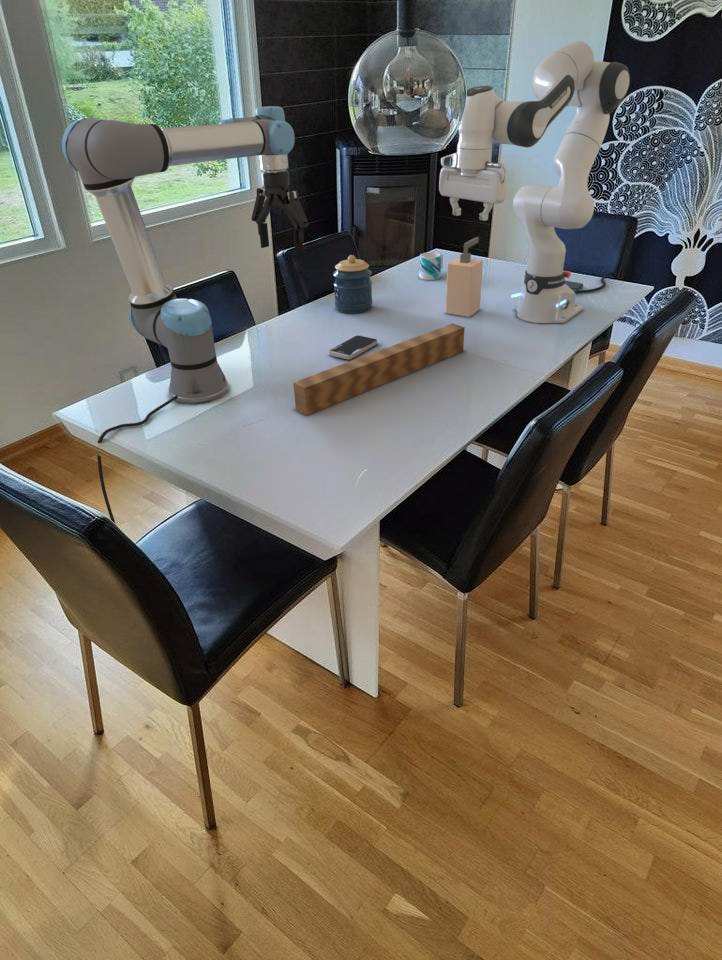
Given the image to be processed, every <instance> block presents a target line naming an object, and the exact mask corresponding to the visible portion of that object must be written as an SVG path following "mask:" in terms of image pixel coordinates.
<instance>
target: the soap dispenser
mask: <svg viewBox="0 0 722 960" xmlns="http://www.w3.org/2000/svg"><path fill="white" fill-rule="evenodd" d="M478 243H480V237H478V236H476V237H474V238H472V239H470V240H468V241H466V242H464V243H463V252H462V253H460V257H457V258H455V259H453V260H452V261H450V262H448V263H446V264H447V267H446V294H445V297H446V298H445V314H449V315H453V316H460V317H466V318H469V317H471V316H472V315H474V314H476V313H477V312H478V311H480V309H481V298H482V296H481V294H482V282H483V264H484V261H483V259H476V258H472V253H471V252H469V249H470V248H471V247H473V246H475V245H476V244H478Z"/></svg>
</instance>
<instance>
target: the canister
mask: <svg viewBox="0 0 722 960" xmlns="http://www.w3.org/2000/svg"><path fill="white" fill-rule="evenodd" d="M369 267H370V264H369V263H368V262H366V261H365V260H363V259H359V258H357V257H356V256H355V255H354V254H350V255H349V256H348V257H347V259H343V260H341V261H339V263H337V264H336V265H335V266H334V268H335V269H336V270H334V271H333V273H332V275H333V277H334V281H333V287H334V289H333V290H334V306H335V310H337V312H340V313H345V314H359V313H364V312H367V311H369V310H371V309H372V308H373V291H372V290H373V288H372V286H373V282H372V280H371V276H372V274H373V272H372V270H371V269H369Z"/></svg>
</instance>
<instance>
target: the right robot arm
mask: <svg viewBox="0 0 722 960" xmlns="http://www.w3.org/2000/svg"><path fill="white" fill-rule="evenodd" d="M531 82H532V84H531V85H532V91H533V94H534V95H535V97H536V98H537V100H527V101H513V100H504V99H502V98H500V97H499V96H498V95H497V94H496V93H495V88H494V87H493V86H491V85H479V86H473V87H470V88H468V89H467V98H466V106H465V110H464V114H463V117H462V121H461V124H460V126H459V128H458V127H457V129H458V135H459V136H458V142H457V146H456V152H454V153H451V154H449V155H448V154H447V155H445V156H443V157H441V158H440V165H441V166H442V167H441V169H440V172H439V178H438V179H439V181H438V191H439V193H440V195H441V196H443V197H448V198H449V203H450V205H451V208H452V216H456V217H458V216H461V215H462V208H461V207H460V206H459V201H460V199H462V200H468V201H473V202H480V203H483V207H484V208H483V211H482V212H479V217H478V220H479V221H483V222H485V221H488V220H489V213H490V212H491V210H492V209H493V207H494V205H498V204H503V203H504V201H505V200H506V198H507V178H506V177H507V169H506V168H505V166H504V165H503V164H502V163H501V162H493V161H492V157H493V144H500V145H511V146H517V147H521V148H526V149H527V148H528V149H529V148H532V147H534V146H535V145H536V144H537V143H538V142H539V141H540V140H541V139H542V137H543V136H544V134H545V133H546V131H547V130H548V128H549V126H550V125H551V124H552V123H553V121H554V120H556V118H557V117H558V116H559V115H560V114H561V113H562V112H563V111H564V109H565V108H566V107H568V106H570V107H576V114H575V115H574V117H573V119H572V120H571V122H570V124H569V125H568V127H567V129H566V131H565V133H564V135H563V137H562V140H561V142H560V144H559V146H558V148H557V151H556V152H555V155H554V157H553V161H552V162H553V163H552V164H553V169H554V171H555V172H556V174H557V175H558V176H559V177H560V178H559V182H558V183H557V185H555V186H554V185H553V186H552V185H545V184H537V183H536V184H528V185H524V186H522V187H521V186H520V188H519V189H518V190H517V191H516V193H515V195H514V197H513V200H512V210H513V214H514V216H515V217H516V218H517V219H518V220H519V222H520V224H521V226H522V227H523V230H524V233H525V237H526V242H527V262H526V263H527V265H526V271H524V272H525V273H524V277H523V278H524V279H523V280H524V281H523V283H524V285H522V286H521V289H520V292H519V293H518V292H517V293H514V294H511V297H510V298H511V299H512V298H516V297H519V300H518V305H517V306H515V312H516V313H517V314H516V316H517V317H518V318H519V319H521V320H523V321H525V322H529V323H535V324H536V323H537V324H552V323H555V324H564V323H566V322H567V321H569V320H570V319H572V318H573V317H575V316H577V315H578V314H579V313H581V312H582V311H583V308H582V306H581V305H578V304H576V295H578V294H587V293H594V292H597V291H599V290H603V289H604V288H605V287H606V285H607V282H606V281H605V279H606V278H607V277H609V276H612V277H615V276H616V273H615V272H614V271H609V272H607V273H606V274H604V275H603V276H602V277H601V279H600V282H601V283H602V285H600V286H598V287H595V288H590V289H580V290H579V291H573V290H572V289H571V288H570V287H568V286H567V285H566V284H565V281H566V278H567V279H569V278H570V277H571V275H572V273H571V271H569V270H564V268H565V259H566V253H567V249H566V245H565V242H563V241H562V240H561V238H559V236H558V235H557V233H556V230H555V228H557V229H562V230H576V229H583V228H584V227H585V226H587V225H588V223H590V221H591V220H592V217H593V215H594V211H595V202H594V199H593V197H592V195H591V194H590V190H589V188H588V186H589V185H588V183H589V182H588V180H589V176H590V172H591V170H592V167H593V165H594V162H595V160H596V159H597V157H598V153H599V152H600V150H601V148H602V144H603V142H604V139H605V136H606V134H607V130H608V127H609V123H610V120H611V119H610V117H611V116H610V114H612V113H613V112H615V110H616V109H617V107H618V106H619V105H620V104H621V103H622V102H623V101H624V99H625V97H626V96H627V94H628V92H629V89H630V84H631V73H630V71H629V68H628V66H627V65H626V64H623V63H621V62H618V61H612V62H609V61H608V62H607V61H600V60H599V61H598V60H597V61H595V55H594V51H593V49H592V47H591V46H590V45H589V44H588V43H587V42H584V41H582V40H581V41H580V40H578V41H577V40H576V41H573V42H570V43H567V44H565V45H563V46H561V47H560V48H558V49H556V50H555V51H553V52H552V53H550V54H549V55H547V56H546V57H545V58H544V59H543V60H542V61H540V63H539V64H538V65H537V66H536V68H534V71H533V75H532V80H531Z"/></svg>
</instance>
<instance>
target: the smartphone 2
mask: <svg viewBox="0 0 722 960" xmlns="http://www.w3.org/2000/svg"><path fill="white" fill-rule="evenodd" d="M565 284H566V285H567V286H568V287H570V288H571V289H572V290H573V291H579V290H582V288H584V283H583V282H576V281H572V280H571V281H570V280H565Z"/></svg>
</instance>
